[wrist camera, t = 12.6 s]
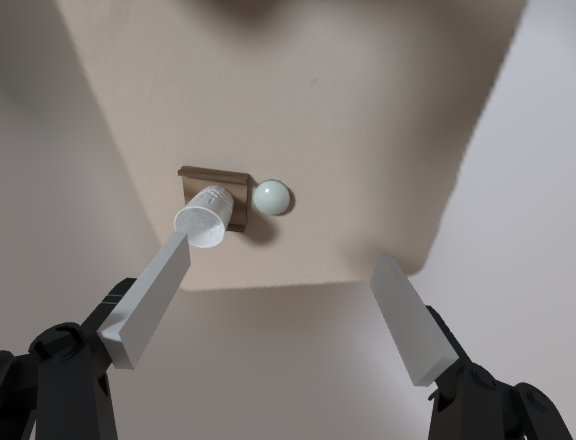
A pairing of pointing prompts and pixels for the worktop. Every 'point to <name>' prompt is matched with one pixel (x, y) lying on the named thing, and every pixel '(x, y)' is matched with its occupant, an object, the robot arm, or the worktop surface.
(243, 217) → the stand
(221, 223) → the white cup
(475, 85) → the worktop surface
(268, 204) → the pale mint domed disc
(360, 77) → the worktop surface
